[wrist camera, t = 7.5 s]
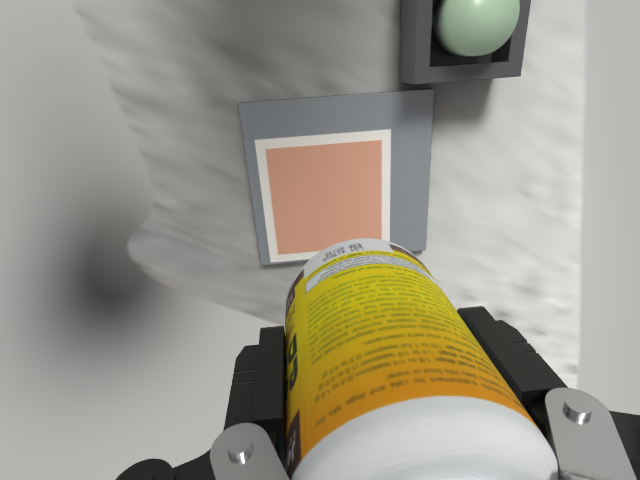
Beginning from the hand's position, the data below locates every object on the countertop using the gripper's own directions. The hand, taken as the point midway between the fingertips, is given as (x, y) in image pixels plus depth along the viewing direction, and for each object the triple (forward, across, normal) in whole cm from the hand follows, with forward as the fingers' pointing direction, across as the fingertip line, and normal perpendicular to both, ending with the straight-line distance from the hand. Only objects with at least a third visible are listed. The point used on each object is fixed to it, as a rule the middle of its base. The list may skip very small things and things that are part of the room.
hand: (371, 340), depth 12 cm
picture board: (+15, -1, -1) cm, 16 cm away
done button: (+13, -8, -10) cm, 18 cm away
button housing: (+15, -8, -10) cm, 20 cm away
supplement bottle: (+3, 0, 0) cm, 3 cm away
